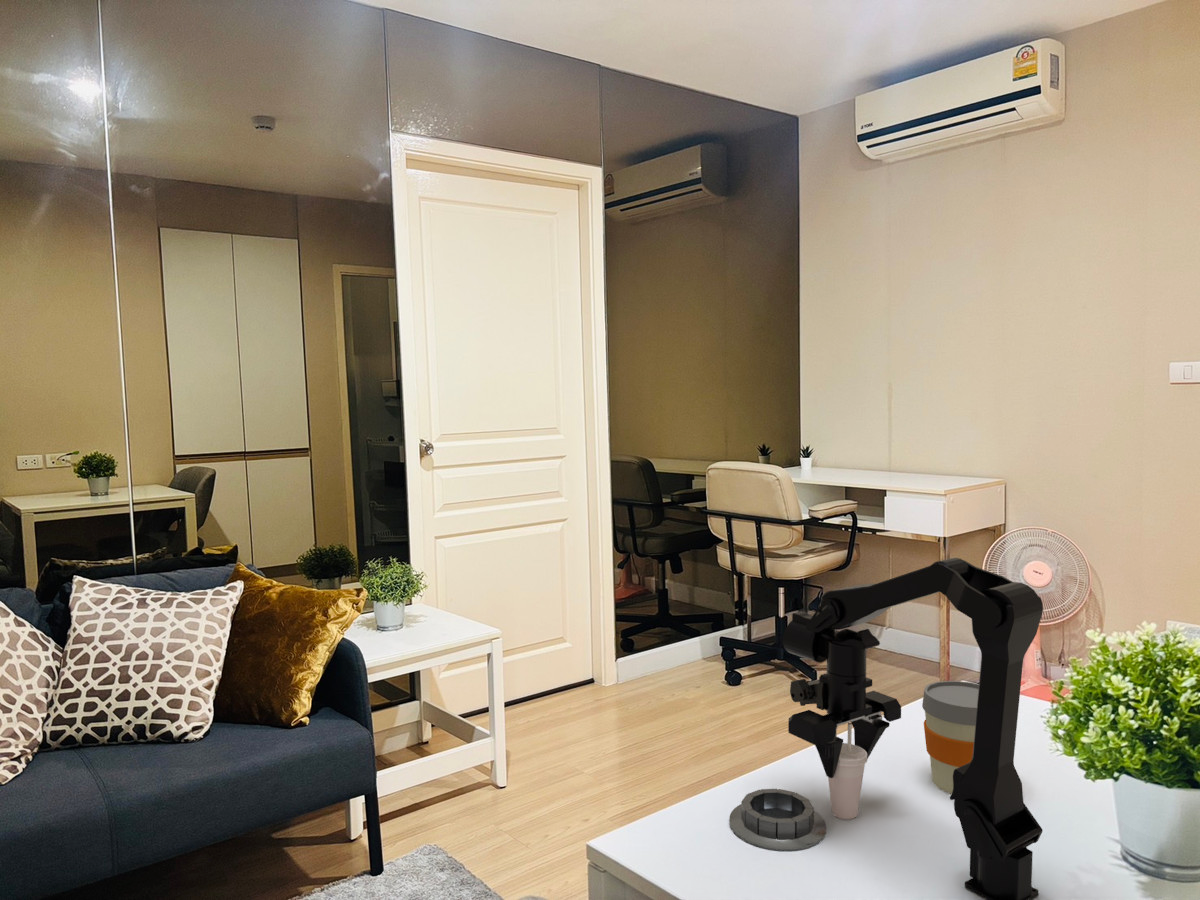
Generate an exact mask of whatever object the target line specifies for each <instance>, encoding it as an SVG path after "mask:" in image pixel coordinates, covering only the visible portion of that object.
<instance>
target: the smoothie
mask: <svg viewBox="0 0 1200 900" xmlns="http://www.w3.org/2000/svg"><path fill="white" fill-rule="evenodd" d="M852 729H853V726H852V724H851V722H849V723H847V743H846V742H843V744H842V748H841V752H840V756H839V760H838V764H837V768H836V772H835V775H834V777H833V778H830V777H828V776H827V779H828V781H827V782H828V788H829V789H828V790H829V796H830V806H831V813H832V815H833V816H834V817H836V818H839V819H842V820H853V819H856V818H857V817H858V812H859V807H860V806H859V805H860V799H861V793H862V785H863V779H864V773H865V767H866V763H867V762H868V759H867V752H866V751H865V750H864V749H863V748H861V747H859V746H856V745H855V744H853V743H852V733H853V732H852ZM855 817H856V818H855Z"/></svg>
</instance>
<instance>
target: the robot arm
mask: <svg viewBox="0 0 1200 900" xmlns="http://www.w3.org/2000/svg"><path fill="white" fill-rule="evenodd" d="M938 593H940V594H943V595H944V596H945V597H946V598H947V599H948V601H949V602H950V603H951V604H952V605H953V606H954V608H955V610H957V611H959V612H960V613H962V614H963V615H965V616H967V617H968V618H970V619H971V629H972V630H971V631H972V635H973V638H974V639H975V641H976V643H977V646H978V648H979V650H980V653H981V654H980V655H981V657H980V669H979V670H980V671H979V681H978V684H979V690H978V701H977V713H976V724H975V735H974V747H973V757H972V760H971V762H970V763H968V764H965V765H963V766H961V767H959V768H957V769H955V770H954V772H953V792H952V794H951V793H950V794H951V795H949V799H950V801H954V802H953V808H954V813H955V816H956V817H957V818H958V820H959V822H960V826H961V829H962V830H961V831H962V833H963V836H964V837H963V838H964V840H965V843H966V847H967V848H968V849H969V876H970V879H968V880H966V881H964V887H965V888H966V889H967V890H970V891H971V892H973V893H975V894H977V895H979V896H981V897H982V898H984V899H987V900H1032V899H1035V898H1036V897H1038V896H1039V890H1038V889H1036V888H1035V887H1033V886H1032V885H1033V884H1032V883H1033V882H1032V879H1033V850H1030V849H1028V847H1029V846H1032V845H1033V844H1036V843H1038V841H1039V840H1040V838H1041V835H1042V833H1043V828H1042V826H1041V825H1040V823H1038V821H1037V819H1036V818H1035V817H1034V814H1032V812H1031V811H1030V809H1029V808H1028V807H1027V806H1026V804H1025V803H1024V795H1023V793H1024V792H1023V782H1022V780H1021V778H1020V776H1019V774H1018V771H1017V770H1016V768H1015V763H1014V759H1015V749H1016V740H1017V739H1016V736H1017V728H1018V727H1017V726H1018V717H1019V716H1018V715H1019V709H1020V708H1019V706H1020V696H1021V685H1022V677H1023V675H1022V674H1023V664H1024V663H1023V662H1024V658H1025V655H1026V653H1027V652H1028V650H1029V648H1030V647H1031V644H1032V643H1033V641H1034V639H1035V638H1036V636H1037V633H1038V630H1039V627H1040V623H1041V619H1042V617H1043V611H1044V607H1043V606H1044V605H1043V601H1042V598H1041V596H1039V595H1038V593H1037V592H1036V591H1035V589H1033V588H1032V587H1031V586H1029V585H1027V584H1025V583H1023V582H1016V581H1012V580H1010V579H1008V578H1007V577H1005V576H1003V575H1000V574H998V573H994V572H991V571H989V570H985V569H982V568H981V567H979V566H978V567H977V566H975V565H974V564H972V563H969V562H968V561H966V560H965V559H962V558H960V557H952V558H948V559H947V558H946V559H943V560H942V559H941V560H938V561H934V562H933V563H932V564H930V565H928V566H925V567H923V568H920V569H917V570H914V571H911V572H907V573H904V574H902V575H899V576H896V577H895V576H894V577H892V578H890V579H886V580H883V581H881V582H877V583H865V584H864V583H863V584H855V585H850V586H847V587H841V588H836V589H833V590H828V591H826V592H825V593H823V594H822V595H821V601H820V605H819V606H818V608H817V610H815V612H814V614H813V615H811V614H809V613H808V612H804V611H802V610H800V611H796V612H793V613H792V616H791V617H792V619H791V621H790V622H789V623H787V626H786V628H785V630H784V633H783V634H782V645H783V648H784V649H785V651H786V652H788V653H789V654H792V655H795V656H798V657H800V658H804V659H807V660H810V661H813V662H816V663H824V662H826V673H824V674H823V673H822V674H820V676H819V679H816V680H815V679H814V680H811V681H807V680H806V679H805V678H802V679H796V680H792V681H790V688H789V694H790V697H791V700H792V701H793V702H794V703H799V705H800V707H805V706H806V705H816V709H818V710H820V711H821V710H822V711H826V713H827V714H820V713H818V712H815V711H813V710H811V709H807V710H804V711H800V712H797V713H794V714H792V715H791V716H790V717H788V727H787V728H788V734H790V735H792V736H794V737H797V738H799V739H801V740H803V741H805V742H808V743H809V744H811V745H814V746H815V748H816V751H817V753H818V756H819V758H820V761H821V764H822V767H823V769H824V773H825V775H826V777H827V778H828V777H830V778H833V777H834V775H835V772H836V768H837V764H838V760H839V756H840V752H841V748H842V744H843V743H844V739H843V738H840V737H839V736H837V731H838V727H839V726H842V725H846V724H848V723H851V724H852V729H853V730H854V733H853V734H854V737H853V739H854V745H856V746H859V747H861V748H863V749H864V750H865V751H866V752H867V760H869V757H870V756H871V754H872V752H873V750H874V748H875V747H876V745H877V744H878V742H879V740H881V737H882V736H883V734H884V732H885V731H886V729H888V728H889V727H890V722H894V721H896V720H899V719H902V705H901V704H900V702H899V700H898V699H897V698H895V697H892V696H890V695H887V694H884V693H881V692H879V691H876V690H871V691H868V692H867V688H870V687H873V679H872V678H870V677H867V657H868V656H867V650H868V649H871V648H876V647H878V646H880V644H881V643H880V641H879V640H878V638H877V637H876V636H875V635H874V634H872V632H871V630H870V629H869V628H866V629H863V630H862V629H861V630H859V631H856V630H853V629H850V628H851V627H855V626H858V625H859V626H860V625H862V624H867V623H869V622H870V621H872V620H875V619H876V618H877V617H879V616H882V614H884V613H886V611H887V610H889V609H890V608H892V607H896V606H899V605H902V604H906V603H908V602H912V601H915V600H918V599H921V598H926V597H928V596H929V597H930V596H932V595H935V594H938ZM838 630H839V631H838ZM882 713H883V715H882ZM883 718H884V719H885V720H884V719H883Z"/></svg>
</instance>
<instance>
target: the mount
mask: <svg viewBox="0 0 1200 900" xmlns="http://www.w3.org/2000/svg"><path fill="white" fill-rule="evenodd" d="M729 827H730V829H731V831H732V832H733V834H734V835H735V836H736V837H738V838H739V839H741V840H742V841H744V842H745V843H747V844H750V845H752V846H755V847H758V848H761V849H765V850H768V851H769V850H771V851H776V852H777V851H778V852H794V851H801V850H806V849H809V848H812V846H813V847H814V846H817V845H818V844H820V843H821V842H822V841H823V840H824V839H825V837H826V834H827V822H826V821H825V819H824V818H823V816H822V815H821V814H820V813H819V812H818V811H816V810H815V807H814V805H813V804H812V802H811V800H810V799H809V798H807V797H805V796H803V795H802V794H800V793H798V792H795V791H791V790H786V789H783V788H782V789H781V788H761V789H757V790H755V791H752V792H748V793H747V794H745V796H744V798H742V801H741V804H739V805H737V806H736V807H734V809H733V810H732V811H731V812H730V815H729ZM820 841H821V842H820ZM819 842H820V843H819ZM816 844H817V845H816Z"/></svg>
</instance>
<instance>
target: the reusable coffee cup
mask: <svg viewBox="0 0 1200 900" xmlns="http://www.w3.org/2000/svg"><path fill="white" fill-rule="evenodd" d="M923 689H924V690H923V696H922V697H923V698H922V704H921V705H922V709H923V711H924V715H925V719H924V721H923V729H924V739H925V746H926V752H927V753H928V755H929V759H930V768H931V777H932V783H933V782H934V783H933V784H934V785H935V787H937V788H938V789H940V790H942V791H943V792H946V793H948V794H952V792H953V772H954V770H955V769H957V768H959V767H961V766H963V765H965V764H968V763H970V762H971V760H972V757H973V747H974V735H975V724H976V713H977V701H978V690H979V683H977V682H975V683H974V682H971V681H970V682H969V681H960V680H940V681H936V682H931V683H929V684H927V685H925V687H924V688H923Z"/></svg>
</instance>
